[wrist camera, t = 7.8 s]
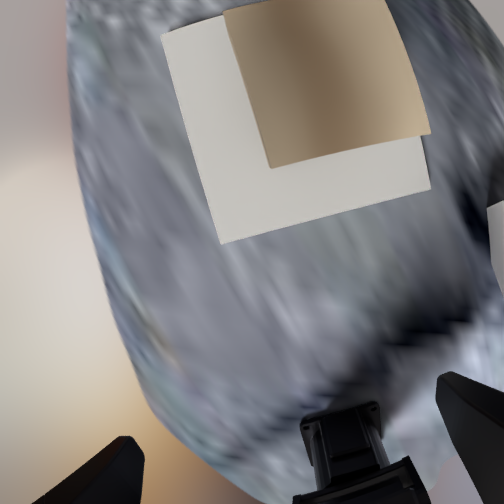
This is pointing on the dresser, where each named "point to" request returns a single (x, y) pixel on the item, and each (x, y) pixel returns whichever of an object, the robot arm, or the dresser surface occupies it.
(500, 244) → the figurine
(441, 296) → the dresser surface
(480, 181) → the dresser surface
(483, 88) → the dresser surface
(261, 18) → the tan pegged block
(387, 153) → the mat
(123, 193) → the dresser surface
